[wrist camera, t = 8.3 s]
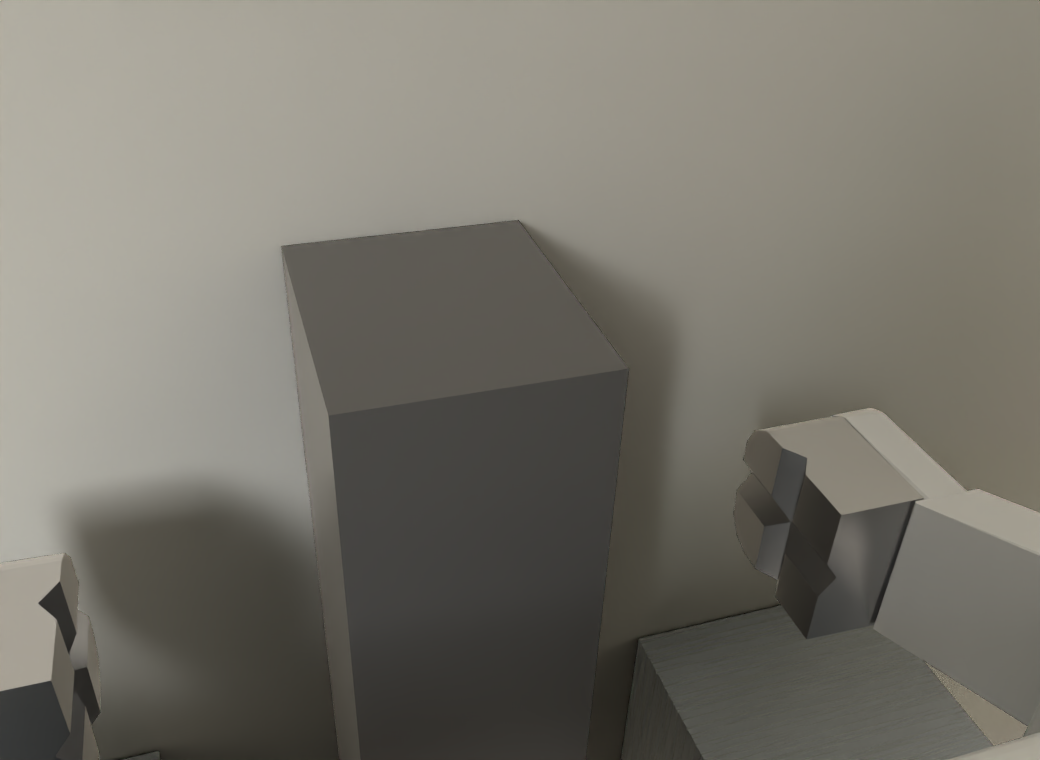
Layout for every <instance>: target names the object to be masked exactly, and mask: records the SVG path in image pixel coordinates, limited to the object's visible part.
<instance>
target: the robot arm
mask: <svg viewBox="0 0 1040 760" xmlns="http://www.w3.org/2000/svg"><path fill="white" fill-rule="evenodd" d="M743 460H744V462H745V463H746V464H747V466H748V467H749V469H750V470H751V472H752V473H751V474H750V475H749V476H748V477H747V479H746V480H745V481H744V482H743V483H742V484H741V486H740V487H739V488H738V489H737V492H736V498H735V505H734V511H733V515H734V521H735V527H736V533H737V537H738V540H739V542H740V544H741V547H742V549H743V551H744V553H745V555H746V556H747V558H748V559H749V561H750V562H751V563H752V565H753V566H754V568H755V569H757V570H759V571H761V572H763V573H765V574H767V575H769V576H771V577H773V578H775V579H776V580H777V585H776V593H775V597H776V599H777V600H778V601H779V603H780V604H781V605H782V607H783V608H784V610H785V611H786V612H787V614H788V615H789V616H790V618H791V619H792V621H793V622H794V623H795V625H796V626H797V627H798V629H799V630H800V632H801V633H802V634H803V636H804V637H805V638H806V640H807V639H811V638H816V637H821V636H825V635H830V634H835V633H839V632H844V631H849V630H853V629H858V628H863V627H867V626H872V625H874V627H873V629H874V630H876V631H877V632H879V633H880V634H882V635H884V636H885V637H887V638H888V639H890V640H892V641H893V642H895V643H896V644H898V645H900V646H901V647H903V648H904V649H906V650H907V651H909V652H911V653H912V654H914V655H915V656H917V657H919V658H920V659H922V660H923V661H925V662H926V663H928V664H930V665H931V666H933V667H934V668H936V669H938V670H939V671H941V672H942V673H944V674H946V675H947V676H949V677H950V678H952V679H953V680H955V681H957V682H958V683H960V684H961V685H963V686H965V687H966V688H968V689H969V690H971V691H973V692H974V693H976V694H977V695H979V696H980V697H982V698H984V699H985V700H987V701H988V702H990V703H992V704H993V705H995V706H996V707H998V708H999V709H1001V710H1003V711H1004V712H1006V713H1007V714H1009V715H1011V716H1012V717H1014V718H1015V719H1017V720H1019V721H1020V722H1022V723H1023V724H1025V725H1026V726H1028V727H1027V729H1026V731H1025V733H1024V735H1023V737H1022V738H1019V739H1015V740H1012V741H1008V742H1005V743H1002V744H998V745H995V746H992V747H988V748H985V749H981V750H978V751H975V752H971V753H968V754H965V755H961V756H958V757H955V758H951V759H948V760H1040V513H1039V512H1037V511H1034V510H1031V509H1029V508H1026V507H1024V506H1021V505H1019V504H1016V503H1014V502H1011V501H1008V500H1006V499H1003V498H1001V497H998V496H996V495H993V494H991V493H988V492H985V491H983V490H980V489H974V490H969V491H966V490H965V489H964V488H963V487H962V486H961V485H960V484H959V483H958V482H957V481H956V480H955V479H954V478H953V477H952V476H950V475H949V474H948V473H947V472H946V471H945V470H944V469H943V468H942V467H941V466H940V465H939V464H938V463H937V462H936V461H935V460H933V459H932V458H931V457H930V456H929V455H928V454H927V453H926V452H925V451H924V450H923V449H922V448H921V447H920V446H919V445H918V444H916V443H915V442H914V441H913V440H912V439H911V438H910V437H909V436H908V435H907V434H906V433H905V432H904V431H903V430H902V429H900V428H899V427H898V426H897V425H896V424H895V423H894V422H893V421H892V420H891V419H890V418H889V417H888V416H887V415H886V414H885V413H883V412H881V411H879V410H876V409H873V408H866V409H861V410H856V411H851V412H846V413H841V414H836V415H832V416H831V417H824V418H819V419H814V420H808V421H803V422H797V423H792V424H787V425H781V426H776V427H770V428H765V429H760V430H754V432H753V433H752V435H751V436H750V438H749V439H748V441H747V443H746V448H745V452H744V457H743ZM78 595H79V581H78V578H77V575H76V572H75V569H74V566H73V563H72V560H71V557H70V556H69V555H67V554H66V553H60V554H53V555H47V556H41V557H34V558H28V559H21V560H15V561H9V562H2V563H0V760H99V749H98V746H97V742H96V739H95V736H94V733H93V729H92V726H91V724H92V723H93V722H94V720H95V719H96V718H97V717H98V715H99V714H100V713H101V682H100V670H99V658H98V652H97V647H96V642H95V637H94V632H93V629H92V625H91V622H90V618H89V616H88V615H86V614H84V613H83V612H81V611H79V610H78Z"/></svg>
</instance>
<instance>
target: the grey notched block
mask: <svg viewBox="0 0 1040 760" xmlns="http://www.w3.org/2000/svg"><path fill="white" fill-rule="evenodd" d="M873 627H874V625H872V626H867V627H863V628H858V629H853V630H849V631H844V632H839V633H835V634H830V635H825V636H821V637H816V638H811V639H807V640H806V638H805V637H804V636H803V634H802V633H801V632H800V630H799V629H798V627H797V626H796V625H795V623H794V622H793V621H792V619H791V618H790V616H789V615H788V614H787V612H786V611H785V610H784V608H783V607H782V605H780V606H776V607H772V608H768V609H763V610H759V611H755V612H751V613H746V614H742V615H738V616H733V617H729V618H725V619H721V620H716V621H712V622H708V623H703V624H699V625H695V626H691V627H686V628H682V629H678V630H674V631H669V632H665V633H661V634H656V635H652V636H648V637H644V638H639V639H638V646H637V653H636V660H635V666H634V673H633V680H632V687H631V694H630V700H629V707H628V714H627V721H626V727H625V734H624V741H623V748H622V755H621V760H948V759H951V758H955V757H958V756H961V755H965V754H968V753H971V752H975V751H978V750H981V749H985V748H988V747H992V746H993V745H992V743H991V742H990V741H989V740H988V738H987V737H986V736H985V735H984V734H983V732H982V731H981V730H980V729H979V728H978V726H977V725H976V724H975V723H974V721H973V720H972V719H971V718H970V717H969V715H968V714H967V713H966V712H965V711H964V709H963V708H962V707H961V706H960V704H959V703H958V702H957V701H956V700H955V698H954V697H953V696H952V695H951V694H950V692H949V691H948V690H947V689H946V687H945V686H944V685H943V684H942V683H941V681H940V680H939V679H938V678H937V677H936V675H935V674H934V673H933V672H932V670H931V669H930V668H929V667H928V666H927V664H926V663H925V662H924V661H923V660H922V659H920V658H919V657H917V656H915V655H914V654H912V653H911V652H909V651H907V650H906V649H904V648H903V647H901V646H900V645H898V644H896V643H895V642H893V641H892V640H890V639H888V638H887V637H885V636H884V635H882V634H880V633H879V632H877V631H876V630H874V629H873ZM122 760H161V758H160V754H159V751H156V752H152V753H147V754H143V755H139V756H135V757H130V758H126V759H122Z"/></svg>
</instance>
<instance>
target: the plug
mask: <svg viewBox="0 0 1040 760" xmlns="http://www.w3.org/2000/svg"><path fill="white" fill-rule="evenodd" d="M281 248H282V257H283V266H284V275H285V284H286V293H287V302H288V310H289V319H290V328H291V337H292V346H293V355H294V364H295V372H296V381H297V390H298V399H299V408H300V417H301V425H302V434H303V443H304V452H305V461H306V470H307V479H308V487H309V496H310V505H311V514H312V523H313V532H314V541H315V549H316V558H317V567H318V576H319V585H320V594H321V603H322V611H323V620H324V629H325V638H326V647H327V656H328V665H329V673H330V682H331V691H332V700H333V709H334V718H335V727H336V735H337V744H338V753H339V760H586V753H587V744H588V735H589V726H590V717H591V708H592V699H593V690H594V681H595V672H596V663H597V654H598V645H599V636H600V626H601V617H602V608H603V599H604V590H605V581H606V572H607V563H608V554H609V545H610V536H611V527H612V518H613V509H614V500H615V490H616V481H617V472H618V463H619V454H620V445H621V436H622V427H623V418H624V409H625V400H626V391H627V382H628V373H629V368H628V367H627V365H626V364H625V363H624V361H623V360H622V359H621V357H620V356H619V355H618V353H617V352H616V351H615V349H614V348H613V347H612V345H611V344H610V343H609V341H608V340H607V338H606V337H605V336H604V334H603V333H602V332H601V330H600V329H599V328H598V326H597V325H596V324H595V322H594V321H593V320H592V318H591V317H590V316H589V314H588V313H587V312H586V310H585V309H584V308H583V306H582V305H581V304H580V302H579V301H578V300H577V298H576V297H575V296H574V294H573V293H572V292H571V290H570V289H569V288H568V286H567V285H566V283H565V282H564V281H563V279H562V278H561V277H560V275H559V274H558V273H557V271H556V270H555V269H554V267H553V266H552V265H551V263H550V262H549V261H548V259H547V258H546V257H545V255H544V254H543V253H542V251H541V250H540V249H539V247H538V246H537V245H536V243H535V242H534V241H533V239H532V238H531V237H530V235H529V234H528V233H527V231H526V230H525V228H524V227H523V226H522V224H521V223H520V222H519V220H518V221H508V222H499V223H490V224H481V225H472V226H462V227H453V228H444V229H435V230H426V231H416V232H407V233H398V234H389V235H380V236H370V237H361V238H352V239H343V240H334V241H325V242H315V243H306V244H297V245H288V246H281Z"/></svg>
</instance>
